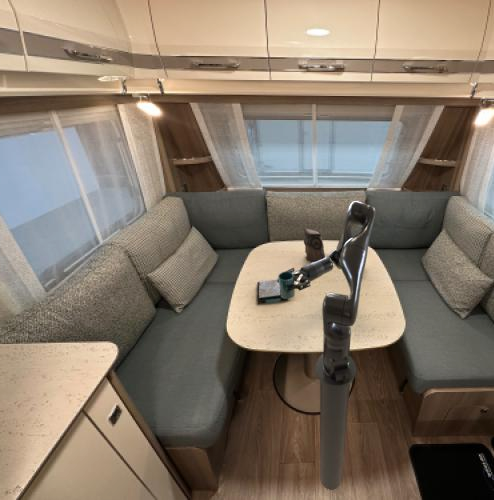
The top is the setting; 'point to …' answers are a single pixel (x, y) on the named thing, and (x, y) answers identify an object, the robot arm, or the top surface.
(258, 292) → the scale
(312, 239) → the owl
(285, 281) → the cup
